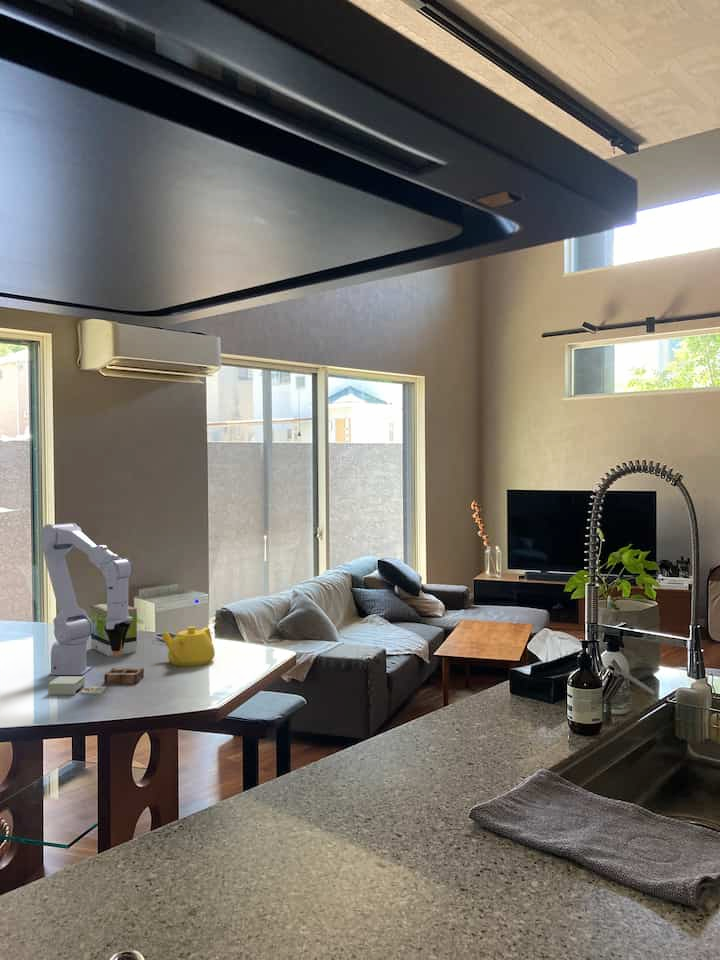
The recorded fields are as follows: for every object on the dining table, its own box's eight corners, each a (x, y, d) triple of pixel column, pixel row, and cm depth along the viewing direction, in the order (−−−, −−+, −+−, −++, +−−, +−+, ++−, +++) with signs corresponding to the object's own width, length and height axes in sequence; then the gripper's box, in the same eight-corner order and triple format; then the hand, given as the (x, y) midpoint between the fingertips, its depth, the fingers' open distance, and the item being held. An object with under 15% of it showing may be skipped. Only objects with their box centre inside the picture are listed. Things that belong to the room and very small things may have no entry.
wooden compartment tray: (104, 683, 211) (104, 674, 211) (112, 676, 218) (112, 668, 218) (136, 683, 211) (136, 674, 211) (143, 677, 218) (143, 668, 218)
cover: (48, 694, 200) (48, 683, 199) (58, 687, 206) (58, 676, 206) (75, 694, 200) (75, 683, 200) (84, 687, 207) (84, 676, 207)
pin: (112, 656, 213) (112, 635, 213) (114, 654, 215) (114, 633, 215) (120, 656, 213) (120, 635, 213) (122, 654, 215) (122, 633, 215)
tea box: (89, 648, 253) (89, 604, 253) (118, 644, 259) (118, 601, 259) (108, 657, 242) (108, 610, 241) (137, 652, 248) (138, 607, 248)
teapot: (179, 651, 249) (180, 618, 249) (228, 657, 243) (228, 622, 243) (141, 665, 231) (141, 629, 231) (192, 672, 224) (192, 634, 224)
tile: (80, 693, 201) (80, 691, 201) (87, 688, 206) (87, 685, 206) (99, 693, 201) (99, 691, 201) (105, 688, 206) (105, 686, 206)
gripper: (124, 606, 207) (124, 655, 207) (139, 597, 221) (138, 644, 221) (98, 606, 207) (98, 655, 207) (114, 597, 221) (114, 643, 221)
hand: (117, 649), depth 214 cm, fingers closed on pin, 2 cm apart
